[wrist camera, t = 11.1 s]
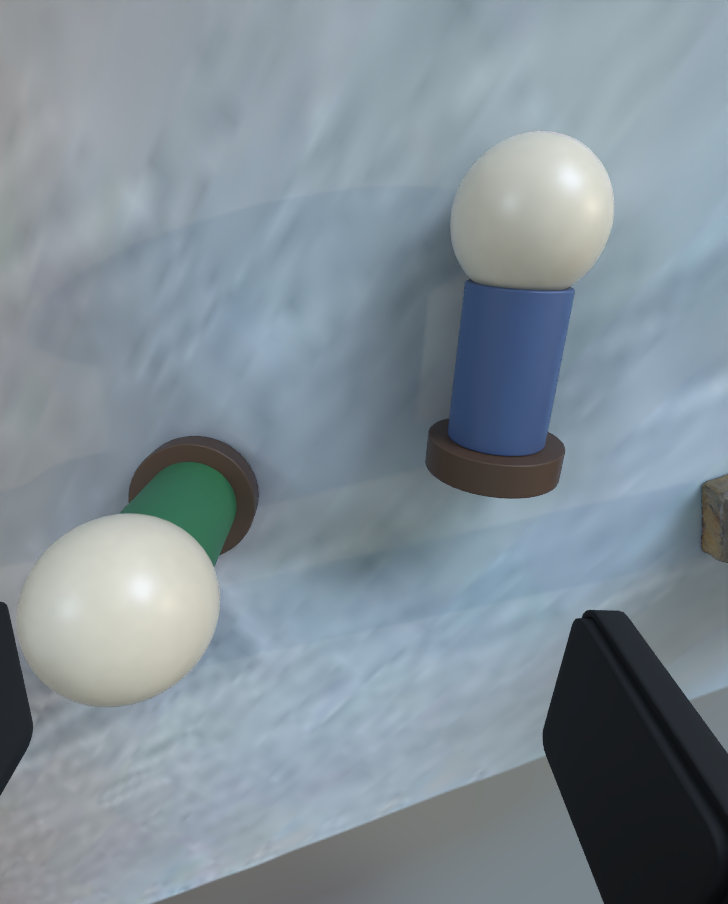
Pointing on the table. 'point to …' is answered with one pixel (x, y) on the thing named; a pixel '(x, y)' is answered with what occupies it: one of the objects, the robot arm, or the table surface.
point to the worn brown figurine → (715, 518)
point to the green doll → (139, 579)
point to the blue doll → (517, 308)
